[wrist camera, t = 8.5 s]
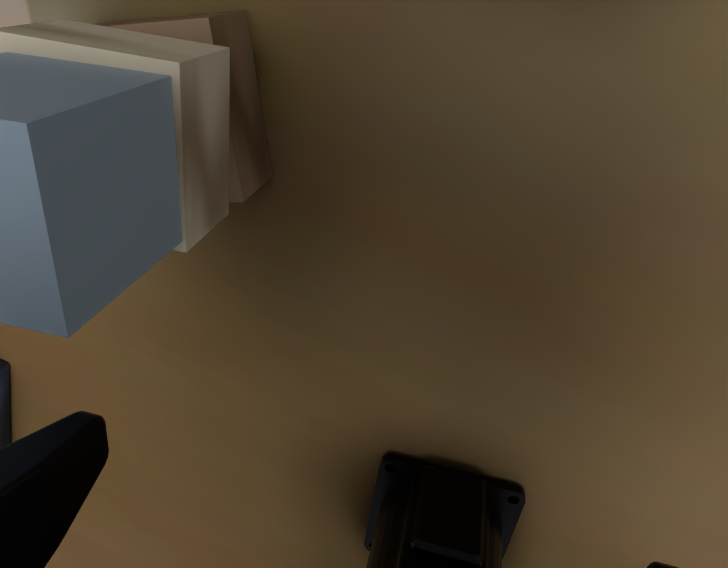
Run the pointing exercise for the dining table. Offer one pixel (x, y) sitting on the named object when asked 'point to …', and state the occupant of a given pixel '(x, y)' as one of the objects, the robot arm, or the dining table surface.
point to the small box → (4, 404)
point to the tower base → (244, 98)
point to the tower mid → (190, 101)
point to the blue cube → (81, 187)
